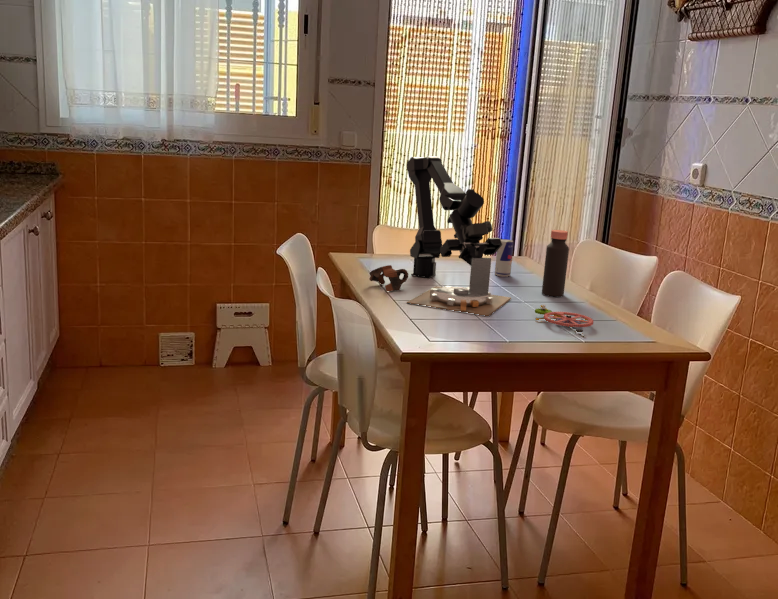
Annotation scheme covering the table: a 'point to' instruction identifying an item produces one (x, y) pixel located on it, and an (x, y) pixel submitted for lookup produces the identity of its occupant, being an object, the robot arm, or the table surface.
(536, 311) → the mechanical gear assembly
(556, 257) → the bottle
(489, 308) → the base board
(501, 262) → the energy drink
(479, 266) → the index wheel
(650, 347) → the table surface
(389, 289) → the pottery mug
